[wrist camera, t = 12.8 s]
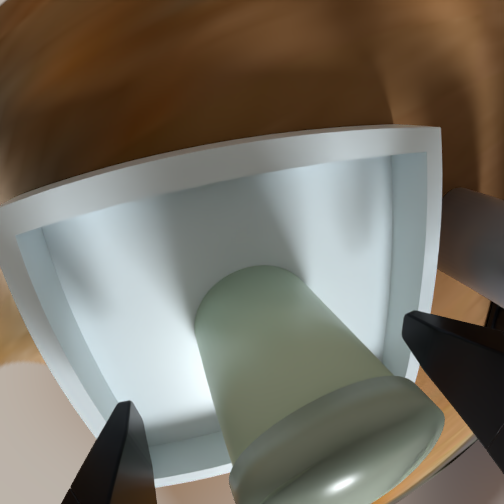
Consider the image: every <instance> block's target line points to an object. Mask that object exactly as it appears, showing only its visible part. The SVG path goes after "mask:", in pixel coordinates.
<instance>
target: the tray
mask: <svg viewBox="0 0 504 504" xmlns="http://www.w3.org/2000/svg"><path fill="white" fill-rule="evenodd" d="M441 210H442V141H441V127H431V126H418V125H401V124H385V125H364V126H348V127H335V128H323V129H312V130H303V131H294V132H285V133H277V134H269V135H262V136H255V137H248V138H242V139H235V140H229V141H223V142H218V143H212V144H207V145H201V146H196V147H191V148H186V149H181V150H176V151H172V152H167V153H162V154H158V155H154V156H149V157H145V158H141V159H137V160H133V161H129V162H125V163H121V164H117V165H113V166H109V167H106V168H102V169H99V170H95V171H92V172H88V173H85V174H81V175H78V176H75V177H71V178H68V179H65V180H62V181H59V182H56V183H52V184H49V185H46V186H43V187H40V188H38V189H35V190H32V191H29V192H26V193H23V194H21V195H18V196H16V197H14V198H12V199H10V200H8V201H6V202H4V203H2V204H1V205H0V267H1V269H2V272H3V274H4V277H5V279H6V282H7V284H8V287H9V289H10V292H11V294H12V296H13V299H14V301H15V303H16V305H17V308H18V310H19V312H20V314H21V316H22V318H23V320H24V322H25V325H26V327H27V329H28V331H29V333H30V335H31V336H32V338H33V340H34V342H35V344H36V346H37V348H38V350H39V352H40V353H41V355H42V357H43V359H44V361H45V362H46V364H47V366H48V367H49V369H50V371H51V372H52V374H53V376H54V378H55V379H56V381H57V382H58V384H59V386H60V387H61V388H62V390H63V392H64V393H65V395H66V397H67V398H68V400H69V401H70V403H71V404H72V406H73V407H74V408H75V410H76V411H77V413H78V414H79V416H80V417H81V418H82V420H83V421H84V423H85V424H86V425H87V427H88V428H89V429H90V430H91V432H92V433H93V435H94V436H95V437H96V439H97V438H98V436H99V434H100V433H101V431H102V429H103V427H104V426H105V424H106V422H107V420H108V419H109V417H110V415H111V413H112V412H113V410H114V408H115V407H116V405H117V403H119V402H122V401H128V400H130V401H132V402H133V403H134V405H135V407H136V409H137V410H138V412H139V414H140V415H141V417H142V420H143V423H144V427H145V433H146V438H147V443H148V447H149V452H150V457H151V461H152V466H153V474H154V483H155V487H162V486H168V485H174V484H179V483H185V482H190V481H195V480H199V479H204V478H209V477H213V476H217V475H221V474H225V473H229V472H231V469H232V467H233V466H232V463H231V460H230V456H229V453H228V450H227V447H226V444H225V441H224V437H223V434H222V431H221V428H220V424H219V421H218V418H217V414H216V411H215V407H214V404H213V400H212V397H211V393H210V390H209V386H208V382H207V379H206V375H205V371H204V368H203V364H202V360H201V356H200V352H199V348H198V344H197V340H196V336H195V328H194V324H195V317H196V313H197V310H198V307H199V305H200V303H201V301H202V300H203V298H204V296H205V295H206V294H207V292H208V291H209V290H210V289H211V288H212V287H213V286H214V285H215V284H216V283H217V282H219V281H220V280H221V279H223V278H224V277H226V276H228V275H229V274H231V273H233V272H235V271H238V270H240V269H243V268H247V267H252V266H259V265H269V266H276V267H280V268H283V269H286V270H288V271H290V272H292V273H293V274H295V275H296V276H298V277H299V278H300V279H301V280H302V281H303V282H304V283H305V284H306V285H307V286H308V287H309V288H310V289H311V290H312V291H313V292H314V294H315V295H316V296H317V297H318V298H319V299H320V300H321V301H322V302H323V303H324V304H325V305H326V306H327V307H328V308H329V309H330V310H331V311H332V312H333V313H334V314H335V315H336V316H337V317H338V318H339V319H340V320H341V321H342V322H343V323H344V324H345V325H346V326H347V327H348V328H349V329H350V330H351V331H352V332H353V333H354V334H355V335H356V337H357V338H358V339H359V340H360V341H361V342H362V343H363V344H364V345H365V346H366V347H367V348H368V349H369V350H370V351H371V352H372V353H373V354H374V355H375V356H376V357H377V358H378V359H379V360H380V361H381V362H382V363H383V364H384V366H385V367H386V368H387V369H388V370H389V371H390V372H391V373H392V374H393V375H394V376H401V377H405V378H408V379H409V380H411V381H412V382H414V383H415V380H416V377H417V373H418V369H419V365H420V364H419V363H418V361H417V359H416V358H415V356H414V355H413V353H412V352H411V350H410V349H409V347H408V346H407V345H406V343H405V342H404V340H403V338H402V325H403V318H404V315H405V314H406V313H408V312H411V311H413V310H417V311H421V312H425V313H429V314H430V312H431V306H432V300H433V293H434V286H435V279H436V271H437V262H438V252H439V241H440V228H441Z"/></svg>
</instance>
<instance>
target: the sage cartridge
mask: <svg viewBox="0 0 504 504" xmlns="http://www.w3.org/2000/svg"><path fill="white" fill-rule="evenodd" d="M194 328H195V336H196V340H197V344H198V348H199V352H200V356H201V360H202V364H203V368H204V371H205V375H206V379H207V382H208V386H209V390H210V393H211V397H212V400H213V404H214V407H215V411H216V414H217V418H218V421H219V424H220V428H221V431H222V434H223V437H224V441H225V444H226V447H227V450H228V453H229V456H230V460H231V463H232V466H233V467H232V469H231V472H230V476H229V485H230V488H231V491H232V494H233V497H234V501H235V503H236V504H371V503H372V502H374V501H376V500H377V499H379V498H380V497H382V496H383V495H385V494H386V493H387V492H389V491H390V490H392V489H393V488H394V487H395V486H397V485H398V484H399V483H400V482H402V481H403V480H404V479H405V478H406V477H407V476H408V475H410V474H411V473H412V472H413V471H414V470H415V469H416V468H417V467H418V466H419V465H420V463H421V462H422V461H423V460H424V459H425V458H426V456H427V455H428V454H429V453H430V451H431V450H432V449H433V447H434V446H435V444H436V442H437V441H438V439H439V437H440V435H441V433H442V430H443V427H444V421H445V418H444V414H443V412H442V411H441V410H440V409H439V408H438V407H437V406H436V405H435V404H434V403H433V401H432V400H431V399H430V398H429V397H428V396H427V395H426V394H425V393H424V392H423V391H422V390H421V389H420V388H419V387H418V386H417V385H416V384H415V383H414V382H412V381H411V380H409V379H408V378H405V377H401V376H394V375H393V374H392V373H391V372H390V371H389V370H388V369H387V368H386V367H385V366H384V364H383V363H382V362H381V361H380V360H379V359H378V358H377V357H376V356H375V355H374V354H373V353H372V352H371V351H370V350H369V349H368V348H367V347H366V346H365V345H364V344H363V343H362V342H361V341H360V340H359V339H358V338H357V337H356V335H355V334H354V333H353V332H352V331H351V330H350V329H349V328H348V327H347V326H346V325H345V324H344V323H343V322H342V321H341V320H340V319H339V318H338V317H337V316H336V315H335V314H334V313H333V312H332V311H331V310H330V309H329V308H328V307H327V306H326V305H325V304H324V303H323V302H322V301H321V300H320V299H319V298H318V297H317V296H316V295H315V294H314V292H313V291H312V290H311V289H310V288H309V287H308V286H307V285H306V284H305V283H304V282H303V281H302V280H301V279H300V278H299V277H298V276H296V275H295V274H293V273H292V272H290V271H288V270H286V269H283V268H280V267H276V266H269V265H259V266H252V267H247V268H243V269H240V270H238V271H235V272H233V273H231V274H229V275H228V276H226V277H224V278H223V279H221V280H220V281H219V282H217V283H216V284H215V285H214V286H213V287H212V288H211V289H210V290H209V291H208V292H207V294H206V295H205V296H204V298H203V300H202V301H201V303H200V305H199V307H198V310H197V313H196V317H195V324H194Z"/></svg>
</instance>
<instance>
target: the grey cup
mask: <svg viewBox="0 0 504 504" xmlns="http://www.w3.org/2000/svg"><path fill="white" fill-rule="evenodd" d="M437 269H438V270H440V271H442V272H444V273H445V274H447V275H449V276H451V277H452V278H454V279H456V280H458V281H459V282H461V283H463V284H464V285H466V286H468V287H469V288H471V289H473V290H474V291H476V292H478V293H479V294H481V295H483V296H484V297H486V298H488V299H489V300H491V301H493V302H494V303H496V304H497V305H499V306H501V307H502V308H504V200H502V199H499V198H496V197H492V196H489V195H486V194H483V193H480V192H476V191H473V190H470V189H466V188H462V187H458V188H454V189H452V190H451V191H449V192H448V193H447V194H446V195H445V196H444V197H443V198H442V210H441V228H440V241H439V252H438V262H437Z"/></svg>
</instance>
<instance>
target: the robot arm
mask: <svg viewBox="0 0 504 504" xmlns="http://www.w3.org/2000/svg"><path fill="white" fill-rule="evenodd" d="M402 338H403V340H404V342H405V343H406V345H407V346H408V347H409V349H410V350H411V352H412V353H413V355H414V356H415V358H416V359H417V361H418V363H419V364H420V366H421V367H422V368H423V370H424V371H425V372H426V374H427V375H428V376H429V377H430V379H431V380H432V381H433V382H434V384H435V385H436V386H437V387H438V389H439V390H440V391H441V392H442V393H443V395H444V396H445V397H446V398H447V400H448V401H449V402H450V403H451V405H452V406H453V407H454V409H455V410H456V411H457V412H458V414H459V415H460V416H461V417H462V419H463V420H464V421H465V423H466V424H467V425H468V427H469V428H470V429H471V430H472V432H473V433H474V434H475V436H476V437H477V438H478V440H479V441H480V442H481V444H482V445H483V446H484V448H485V449H487V452H488V453H489V455H490V456H491V457H492V459H493V460H494V461H495V463H496V464H497V466H498V467H499V468H500V470H501V471H502V472H503V474H504V308H502V307H501V306H499V305H497V304H496V303H494V302H493V305H492V309H491V313H490V316H489V320H488V324H487V327H483V326H479V325H475V324H471V323H467V322H462V321H458V320H454V319H450V318H446V317H442V316H438V315H433V314H429V313H425V312H421V311H417V310H413V311H411V312H408V313H406V314H405V315H404V318H403V325H402ZM61 504H157V500H156V492H155V483H154V474H153V466H152V461H151V457H150V452H149V447H148V443H147V438H146V433H145V427H144V423H143V420H142V417H141V415H140V414H139V412H138V410H137V409H136V407H135V405H134V403H133V402H132V401H130V400H128V401H122V402H119V403H117V405H116V407H115V408H114V410H113V412H112V413H111V415H110V417H109V419H108V420H107V422H106V424H105V426H104V427H103V429H102V431H101V433H100V434H99V436H98V438H97V440H96V441H95V443H94V445H93V447H92V448H91V450H90V452H89V454H88V456H87V458H86V459H85V461H84V463H83V465H82V466H81V468H80V470H79V472H78V474H77V475H76V478H75V479H74V481H73V483H72V485H71V489H69V490H68V492H67V494H66V496H65V497H64V499H63V501H62V503H61Z"/></svg>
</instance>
